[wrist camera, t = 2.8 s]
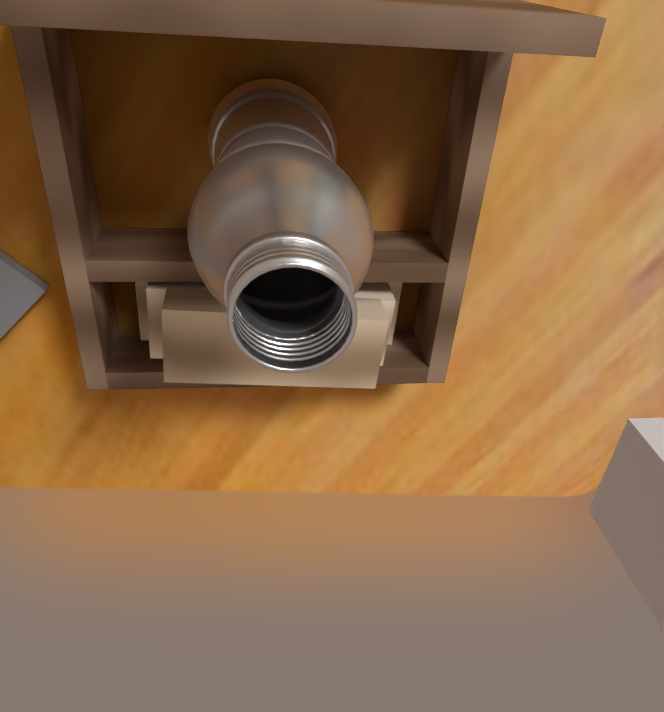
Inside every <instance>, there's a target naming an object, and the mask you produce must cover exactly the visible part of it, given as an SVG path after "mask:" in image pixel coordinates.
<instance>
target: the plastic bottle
mask: <svg viewBox="0 0 664 712" xmlns="http://www.w3.org/2000/svg"><path fill="white" fill-rule="evenodd" d="M208 146H209V154H210V158H211V162H212V165H213V170H212V171H211V172H210V173H209V174H208V176H207V177H206V178H205V179H204V181H203V183H202V185H201V187H200V188H199V190H198V192H197V194H196V196H195V199H194V201H193V203H192V207H191V210H190V214H189V217H188V231H187V238H188V244H189V250H190V254H191V257H192V259H193V262H194V264H195V267H196V269H197V271H198V273H199V275H200V277H201V279H202V281H203V282H204V284H205V285H206V287H207V288H208V290H209V291H210V293H211V294H212V295H213V296H214V297H215V298H216V299H217V300H218V301H219V302H220V303H221V304H222V305H223V306H225V307H226V309H227V310H226V317H227V324H228V328H229V331H230V333H231V336H232V339H233V341H234V342H235V344H236V345H237V347H238V348H239V350H240V351H241V352H242V353H243V354H244V355H245V356H246V357H248V358H249V359H250V360H252V361H253V362H255V363H256V364H258V365H260V366H262V367H265V368H267V369H270V370H274V371H277V372H285V373H303V372H308V371H313V370H316V369H319V368H321V367H324V366H326V365H328V364H329V363H331V362H333V361H334V360H336V359H337V358H338V357H339V356H340V355H341V354H342V353H344V351H345V350H346V349H347V347H348V346H349V345H350V343H351V341H352V339H353V337H354V335H355V331H356V327H357V306H356V301H355V297H354V295H355V294H356V292H357V291H358V290H359V288H360V287H361V285H362V283H363V281H364V279H365V276H366V274H367V272H368V268H369V265H370V261H371V256H372V252H373V247H374V230H373V224H372V219H371V214H370V212H369V209H368V207H367V205H366V202H365V200H364V198H363V196H362V195H361V193H360V192H359V190H358V189H357V187H356V186H355V184H354V183H353V181H352V180H351V179H350V177H349V176H348V175H347V174H346V173H345V172H344V171H343V170H342V169H341V168H340V167H339V166H338V165H337V164H336V162H337V139H336V134H335V129H334V126H333V124H332V121H331V119H330V117H329V115H328V113H327V112H326V110H325V109H324V107H323V106H322V104H321V103H320V102H319V101H318V100H317V99H316V98H315V97H314V96H313V95H312V94H310V93H309V92H307V91H306V90H304V89H303V88H302V87H300V86H297V85H295V84H293V83H290V82H287V81H283V80H278V79H259V80H254V81H250V82H247V83H245V84H243V85H240V86H238V87H236V88H235V89H234V90H233V91H231V92H230V93H229V94H227V95H226V96H225V97H224V99H223V100H222V101H221V102H220V103H219V105H218V106H217V108H216V110H215V112H214V114H213V116H212V119H211V123H210V126H209V133H208Z"/></svg>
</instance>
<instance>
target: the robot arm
mask: <svg viewBox="0 0 664 712" xmlns="http://www.w3.org/2000/svg"><path fill="white" fill-rule="evenodd" d="M589 511H590V513H591V515H592V516H593V518H594V520H595V521H596V523H597V524H598V526H599V528H600V530H601V531H602V533H603V534H604V536H605V538H606V539H607V541H608V543H609V544H610V546H611V548H612V549H613V551H614V553H615V554H616V556H617V557H618V559H619V561H620V562H621V564H622V566H623V567H624V569H625V571H626V572H627V574H628V576H629V577H630V579H631V580H632V582H633V584H634V585H635V587H636V589H637V590H638V592H639V594H640V595H641V597H642V598H643V600H644V602H645V603H646V605H647V607H648V608H649V610H650V612H651V613H652V615H653V617H654V618H655V620H656V621H657V623H658V625H659V626H660V628H661V630H662V631H663V633H664V419H663V418H635V419H628V421H627V423H626V425H625V428H624V430H623V432H622V435H621V437H620V439H619V442H618V444H617V446H616V449H615V451H614V453H613V455H612V458H611V460H610V462H609V465H608V467H607V469H606V472H605V474H604V476H603V478H602V481H601V483H600V485H599V488H598V490H597V493H596V495H595V497H594V499H593V502H592V504H591V506H590V508H589Z"/></svg>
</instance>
